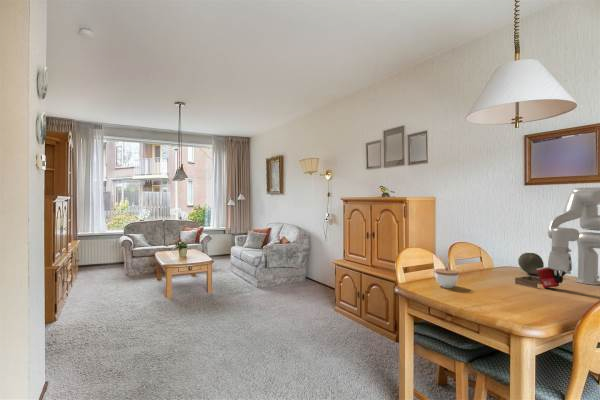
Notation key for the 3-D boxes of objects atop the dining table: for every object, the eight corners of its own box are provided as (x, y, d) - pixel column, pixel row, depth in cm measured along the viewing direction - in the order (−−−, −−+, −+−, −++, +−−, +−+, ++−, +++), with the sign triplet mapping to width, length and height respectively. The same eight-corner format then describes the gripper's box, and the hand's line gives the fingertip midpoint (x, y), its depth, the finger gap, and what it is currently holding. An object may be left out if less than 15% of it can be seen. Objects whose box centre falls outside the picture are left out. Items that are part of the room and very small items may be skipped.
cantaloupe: (538, 273, 233) (538, 251, 233) (546, 277, 219) (547, 255, 219) (515, 271, 237) (515, 250, 237) (522, 275, 223) (522, 253, 223)
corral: (529, 281, 208) (529, 275, 208) (550, 285, 197) (550, 280, 197) (515, 283, 202) (515, 277, 202) (536, 288, 191) (536, 282, 191)
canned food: (562, 285, 186) (555, 265, 189) (547, 287, 187) (540, 268, 190) (555, 285, 194) (547, 266, 197) (540, 287, 195) (533, 269, 198)
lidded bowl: (451, 290, 184) (452, 270, 184) (430, 285, 194) (430, 267, 194) (462, 287, 192) (462, 268, 192) (441, 282, 202) (441, 264, 202)
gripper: (579, 251, 182) (578, 285, 181) (548, 248, 195) (547, 279, 195) (572, 252, 178) (571, 286, 178) (541, 248, 192) (540, 280, 191)
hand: (558, 282), depth 186 cm, fingers closed
